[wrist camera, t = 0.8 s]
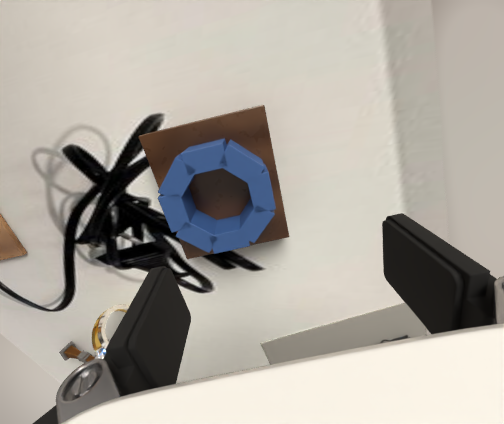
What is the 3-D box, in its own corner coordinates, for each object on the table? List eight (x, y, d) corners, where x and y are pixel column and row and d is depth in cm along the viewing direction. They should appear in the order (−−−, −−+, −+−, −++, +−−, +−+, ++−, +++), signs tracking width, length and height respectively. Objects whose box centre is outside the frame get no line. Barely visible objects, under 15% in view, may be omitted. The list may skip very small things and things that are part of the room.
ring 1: (108, 297, 34) (71, 350, 27) (127, 288, 33) (95, 339, 26) (140, 330, 36) (115, 386, 29) (158, 322, 36) (137, 377, 29)
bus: (428, 360, 42) (447, 386, 38) (286, 397, 44) (290, 425, 40) (423, 297, 36) (445, 320, 32) (260, 343, 38) (262, 369, 35)
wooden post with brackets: (127, 346, 36) (100, 376, 33) (91, 335, 40) (63, 361, 36) (123, 338, 36) (95, 367, 32) (86, 327, 39) (57, 353, 35)
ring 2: (156, 154, 24) (143, 162, 21) (258, 130, 23) (260, 133, 20) (189, 242, 28) (182, 260, 25) (277, 223, 27) (282, 239, 24)
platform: (149, 132, 26) (138, 136, 23) (261, 105, 25) (264, 104, 22) (191, 245, 31) (186, 259, 29) (285, 225, 31) (289, 237, 28)
